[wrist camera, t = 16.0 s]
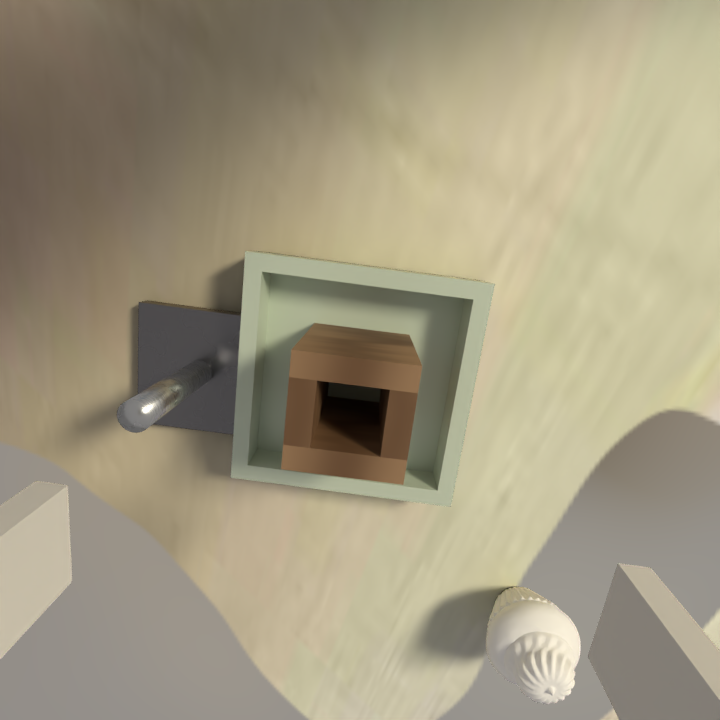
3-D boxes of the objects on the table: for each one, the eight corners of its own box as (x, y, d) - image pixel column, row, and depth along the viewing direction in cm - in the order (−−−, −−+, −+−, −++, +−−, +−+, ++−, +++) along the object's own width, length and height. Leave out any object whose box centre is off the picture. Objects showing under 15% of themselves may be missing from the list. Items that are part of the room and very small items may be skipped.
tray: (482, 280, 28) (494, 284, 25) (443, 483, 31) (450, 507, 28) (259, 251, 28) (245, 251, 25) (244, 456, 31) (230, 477, 28)
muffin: (576, 599, 33) (628, 690, 26) (519, 651, 34) (555, 751, 27) (512, 553, 32) (549, 634, 25) (457, 609, 33) (478, 700, 26)
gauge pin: (269, 316, 29) (223, 344, 20) (260, 431, 30) (214, 503, 22) (146, 300, 29) (46, 321, 20) (145, 416, 30) (52, 482, 22)
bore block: (409, 334, 28) (422, 366, 20) (396, 423, 29) (403, 484, 22) (314, 322, 28) (291, 349, 20) (306, 412, 29) (280, 469, 22)
